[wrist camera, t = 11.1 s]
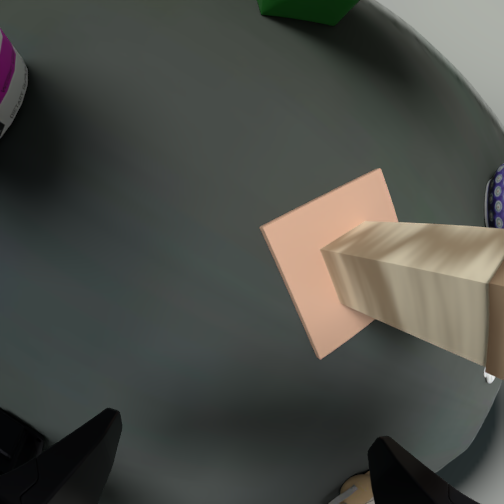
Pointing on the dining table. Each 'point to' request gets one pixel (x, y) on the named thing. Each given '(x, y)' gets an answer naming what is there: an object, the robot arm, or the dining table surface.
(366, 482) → the alarm clock
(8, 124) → the supplement can
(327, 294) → the terracotta tile
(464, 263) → the ash post
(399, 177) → the dining table surface
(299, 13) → the milk carton
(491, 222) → the teapot
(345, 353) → the dining table surface
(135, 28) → the dining table surface
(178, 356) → the dining table surface
